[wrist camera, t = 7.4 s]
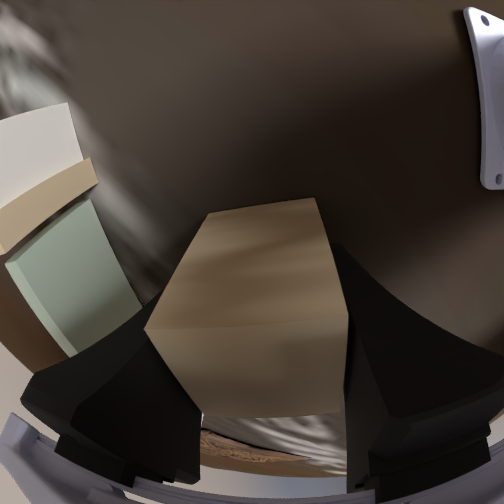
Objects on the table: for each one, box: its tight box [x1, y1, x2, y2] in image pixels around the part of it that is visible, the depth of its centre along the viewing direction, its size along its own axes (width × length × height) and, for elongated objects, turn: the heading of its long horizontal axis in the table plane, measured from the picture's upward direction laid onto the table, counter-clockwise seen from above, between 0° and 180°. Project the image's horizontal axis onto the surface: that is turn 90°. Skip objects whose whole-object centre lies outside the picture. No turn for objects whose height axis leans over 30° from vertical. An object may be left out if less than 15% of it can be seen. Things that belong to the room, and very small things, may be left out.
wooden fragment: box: [200, 430, 309, 463], centre depth 26 cm, size 26×11×1 cm, turn 63°
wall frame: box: [0, 103, 204, 425], centre depth 11 cm, size 2×21×6 cm, turn 12°
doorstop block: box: [144, 198, 348, 418], centre depth 8 cm, size 4×4×6 cm
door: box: [5, 199, 142, 357], centre depth 11 cm, size 2×10×5 cm, turn 12°
